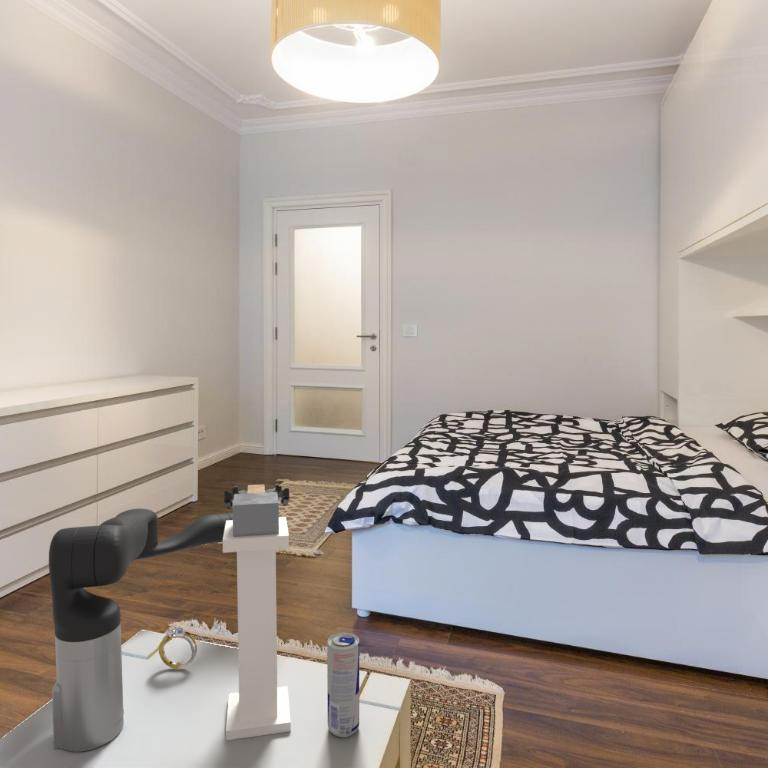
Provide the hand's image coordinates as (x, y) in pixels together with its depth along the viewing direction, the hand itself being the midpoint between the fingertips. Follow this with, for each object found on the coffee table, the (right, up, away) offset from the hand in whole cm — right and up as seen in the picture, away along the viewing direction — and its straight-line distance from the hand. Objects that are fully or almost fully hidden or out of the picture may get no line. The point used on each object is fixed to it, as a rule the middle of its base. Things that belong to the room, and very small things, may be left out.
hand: (256, 489), depth 122 cm
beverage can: (+21, -33, -30) cm, 50 cm away
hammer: (+5, -1, -24) cm, 25 cm away
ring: (-12, -32, -13) cm, 37 cm away
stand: (+6, -33, -27) cm, 43 cm away
